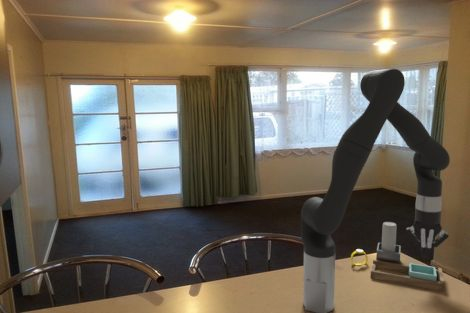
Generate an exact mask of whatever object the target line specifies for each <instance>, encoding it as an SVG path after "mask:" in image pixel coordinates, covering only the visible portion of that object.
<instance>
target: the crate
mask: <svg viewBox="0 0 470 313" xmlns="http://www.w3.org/2000/svg"><path fill="white" fill-rule="evenodd" d="M408 265H409V273H408V277H414V278H419V279H425V280H431V281H436V282H437V280H438V278H437V275H436V270H437V269H436V266H431V265H430V266H429V265H424V264H417V263H412V262H409V264H408Z"/></svg>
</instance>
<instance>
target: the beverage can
mask: <svg viewBox="0 0 470 313" xmlns="http://www.w3.org/2000/svg"><path fill="white" fill-rule="evenodd" d="M397 227H398V226H397V224H396V223H395V222H392V221H384V222H383V223H382V230H381V231H382V232H381V243H382V249H381V250H382V251H389V252H395V246H396V245H397Z"/></svg>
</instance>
